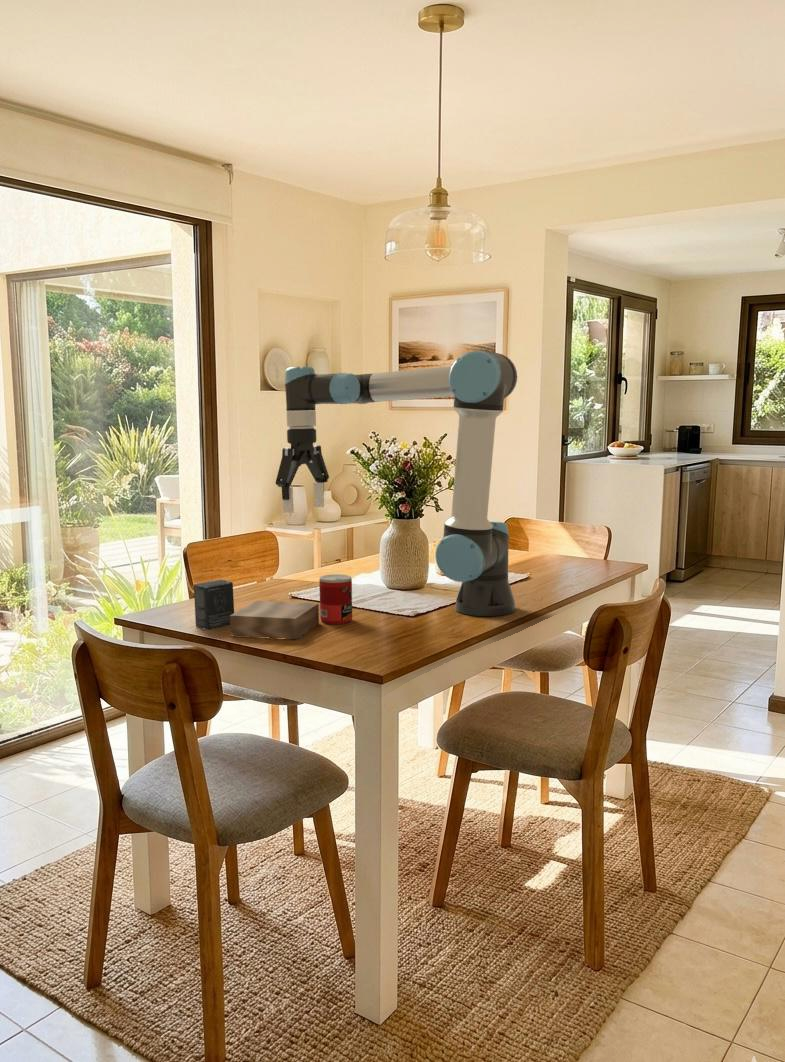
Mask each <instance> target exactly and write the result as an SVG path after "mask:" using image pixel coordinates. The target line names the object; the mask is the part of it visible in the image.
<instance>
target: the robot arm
mask: <svg viewBox="0 0 785 1062" xmlns="http://www.w3.org/2000/svg"><path fill="white" fill-rule="evenodd" d="M284 380H285V383H284V388H285V400H286V401H285V403H286V427H288V428H289V429H287V430H286V440H287V443H288V444H290V447H282V452H281V453H282V454H281V455H282V456H281V461H280V464H279V469H278V471H277V475H276V479H275V485H276V486H277V487H278V488H281V499H282V511H283V513H284V514H285V513H287V514H293V513H294V509H295V508H294V487H293V486H292V483H293V481H294V478H295V477H296V474H297V472H298V469H299V467H302V465H306V467H307V469H308V470H309V471H310V474H311V475H312V477H313V479H314V481H315V482H313V507H314V508H325V483H327V482H328V480H329V479H330V476H329V472H328V469H327V466H326V462H325V460H324V457H323V453H322V447H321V445H318V444H317V445H314V444H315V443H317V429H316V428H315V427H316V426H317V415H316V414H317V413H316V405H347V404H348V405H349V404H351V405H352V404H357V405H365V404H371V403H380V402H382V403H383V402H396V401H407V400H408V401H409V400H423V399H436V398H437V399H438V398H439V399H440V398H451V397H453V409H454V411H455V412H456V413H457V414H458V428H457V442H456V451H455V453H456V455H455V466H454V476H453V477H454V480H453V490H452V501H451V502H452V504H451V505H452V506H451V515H450V516H449V518H447V519H446V520H445V521H444V524H443V525H444V526H443V527H444V528H443V537H442V539H441V540H440V541H439V543H438V544H437V546H436V549H435V554H434V555H435V562H436V566H437V568H438V569H439V571H441V573H442V574H443V575H444V576H445V577H446V578H448V579H449V580H451V581H454V582H459V583H461V585H460V588H459V591H458V594H457V596H456V599H455V611H457V612H458V613H459V614H463V615H467V616H474V617H477V616H478V617H496V616H497V617H498V616H499V617H500V616H506V615H511V614H513V613H514V612H515V611H516V603H515V601H516V600H515V598H514V595H513V592H512V588H511V585H510V583H509V545H510V544H509V538H510V534H509V526H508V524H507V523H506V522H503V521H490V520H489V519H488V512H489V501H490V490H491V478H492V465H493V456H494V455H493V453H494V444H495V443H494V442H495V432H496V431H495V430H496V419H497V417H499V416H500V415H501V414H502V413H503V412H504V404H505V402H504V401H505V399H506V398H508V396H510V395H511V394H512V393H513V392H514V390H515V388H516V386H517V382H518V371H517V368H516V366H515V363H513V361H512V360H511V359H510V358H509V357H508V356H506V355H504V354H502V353H498V352H491V351H487V350H473V351H468V352H466V353H465V352H464V353H463V354H462V355H460V356H459V357H458V358H457V359H456V360H455V361H454V363H452V365H449V366H442V367H441V366H440V367H430V368H418V369H417V368H416V369H408V370H406V369H405V370H397V371H385V372H377V373H376V372H374V373H364V374H363V373H361V374H354V373H347V372H339V373H325V374H323V373H322V374H321V373H320V374H319V373H318V374H317V373H315V369H314V368H313V367H312V366H293V367H292V366H291V367H288V368H286V369H285V379H284Z"/></svg>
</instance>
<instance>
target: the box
mask: <svg viewBox="0 0 785 1062" xmlns="http://www.w3.org/2000/svg"><path fill="white" fill-rule="evenodd" d="M193 594H194V595H193V596H194V597H193V598H194V616H195V617H194V618H195V627H197V626H198V628H200V627H201V628H200V629H203V628H205V629H204V630H206V629H210V630H213V629H212V628H214V629H218V628H217V627H219V628H222V626H223V627H228V626H230V615H232V614H234V613H235V603H234V585H233V581H229V580H224V579H217V580H212V581H206V582H201V583H199V582H198V583H194V584H193Z"/></svg>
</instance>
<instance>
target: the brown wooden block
mask: <svg viewBox="0 0 785 1062" xmlns="http://www.w3.org/2000/svg"><path fill="white" fill-rule="evenodd" d="M319 624H320V603H315V602H311V603H310V602H295V601H294V602H292V601H269V600H268V601H267V600H256V601H254V602H252V603H250V604H248V605H246V606H245V607H242V608H241V609H239V610H237V611H234V614H232V615H230V625H229V626H230V636H231V635H233V636H249V637H269V638H285V639H297V638H299V637H300V636H301V637H303V636H304V635H305V634H307V633H309V632H310V631H311V630H312V629H314V628H315V627H316V626H318V625H319ZM309 630H310V631H309ZM306 632H307V633H306ZM303 634H304V635H303ZM302 635H303V636H302ZM301 637H300V638H301ZM300 638H299V639H300ZM297 640H298V639H297Z"/></svg>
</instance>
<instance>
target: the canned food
mask: <svg viewBox="0 0 785 1062" xmlns="http://www.w3.org/2000/svg"><path fill="white" fill-rule="evenodd" d="M352 579H353V578H352V576H351V575H347V574H325V575H321V576H319V582H318V583H319V619H320V622H321V623H323V624H327V625H345V624H350V622H352V619H353V585H352V584H353V583H352V582H353V581H352Z"/></svg>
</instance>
